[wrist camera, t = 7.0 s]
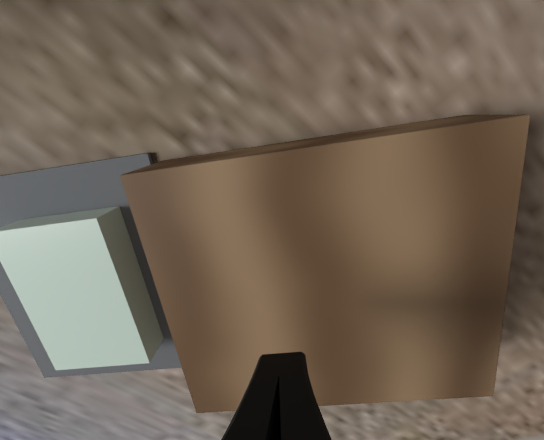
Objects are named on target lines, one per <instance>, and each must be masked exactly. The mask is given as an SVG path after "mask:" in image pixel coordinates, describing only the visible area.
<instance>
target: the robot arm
mask: <svg viewBox="0 0 544 440" xmlns="http://www.w3.org/2000/svg"><path fill="white" fill-rule="evenodd" d="M221 440H331V437H330V435H329V432H328V430H327V428H326V425H325V423H324V420H323V417H322V415H321V412H320V409H319V407H318V404H317V401H316V398H315V395H314V392H313V389H312V386H311V382H310V379H309V375H308V369H307V362H306V356H305V354H304V353H303V352H289V353H276V354H262V355H261V356H260V357H259V360H258V363H257V365H256V368H255V370H254V373H253V375H252V378H251V380H250V382H249V385H248V387H247V389H246V391H245V394H244V396H243V398H242V400H241V402H240V404H239V406H238V408H237V410H236V412H235V414H234V417H233V419H232V421H231V423H230V425H229V427H228V428H227V430H226V432H225V434H224V436H223V438H222V439H221Z"/></svg>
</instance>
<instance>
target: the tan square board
mask: <svg viewBox="0 0 544 440" xmlns="http://www.w3.org/2000/svg"><path fill="white" fill-rule="evenodd" d="M529 120H530V115H462V116H456V117H449V118H443V119H436V120H429V121H423V122H416V123H409V124H403V125H396V126H390V127H383V128H376V129H370V130H363V131H357V132H350V133H343V134H337V135H330V136H324V137H317V138H310V139H304V140H297V141H290V142H284V143H277V144H271V145H264V146H257V147H251V148H244V149H238V150H231V151H224V152H218V153H211V154H205V155H198V156H191V157H185V158H178V159H171V160H165V161H160V162H157V163H154V164H151V165H149V166H146V167H143V168H140V169H137V170H134V171H131V172H128V173H125V174H122V175H120V178H121V181H122V184H123V187H124V190H125V193H126V196H127V199H128V203H129V206H130V209H131V212H132V215H133V218H134V221H135V224H136V227H137V230H138V233H139V236H140V240H141V243H142V246H143V249H144V252H145V255H146V258H147V261H148V264H149V267H150V270H151V274H152V277H153V280H154V283H155V286H156V289H157V292H158V295H159V298H160V301H161V304H162V307H163V311H164V314H165V317H166V320H167V323H168V326H169V329H170V332H171V335H172V338H173V341H174V344H175V348H176V351H177V354H178V357H179V360H180V363H181V366H182V369H183V372H184V375H185V378H186V381H187V385H188V388H189V391H190V394H191V397H192V400H193V403H194V406H195V409H196V412H197V413H205V412H223V411H236V410H237V408H238V406H239V404H240V402H241V400H242V398H243V396H244V394H245V391H246V389H247V387H248V385H249V382H250V380H251V378H252V375H253V373H254V370H255V368H256V365H257V363H258V360H259V357H260V356H261V355H262V354H276V353H289V352H303V353H304V354H305V356H306V362H307V369H308V375H309V379H310V382H311V386H312V389H313V392H314V395H315V398H316V401H317V404H318V406H327V405H344V404H362V403H379V402H397V401H414V400H431V399H449V398H466V397H484V396H493V394H494V387H495V379H496V371H497V364H498V356H499V348H500V341H501V333H502V326H503V318H504V310H505V303H506V295H507V288H508V280H509V272H510V265H511V257H512V250H513V242H514V234H515V227H516V219H517V212H518V204H519V196H520V189H521V181H522V173H523V166H524V158H525V151H526V143H527V135H528V128H529Z"/></svg>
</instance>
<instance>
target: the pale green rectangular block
mask: <svg viewBox="0 0 544 440" xmlns="http://www.w3.org/2000/svg"><path fill="white" fill-rule="evenodd" d="M0 262H1V264H2V266H3V268H4V270H5V272H6V274H7V276H8V278H9V280H10V281H11V283H12V285H13V287H14V289H15V291H16V293H17V295H18V297H19V299H20V301H21V303H22V305H23V307H24V309H25V311H26V313H27V315H28V317H29V319H30V321H31V323H32V325H33V327H34V329H35V331H36V333H37V335H38V337H39V338H40V340H41V342H42V344H43V346H44V348H45V350H46V352H47V354H48V356H49V358H50V360H51V362H52V364H53V366H54V368H55V370H67V369H80V368H93V367H106V366H119V365H132V364H145V363H150V362H151V360H152V358H153V356H154V355H155V353H156V351H157V349H158V348H159V346H160V344H161V342H162V341H163V339H164V338H163V335H162V332H161V329H160V326H159V323H158V320H157V317H156V314H155V311H154V308H153V305H152V302H151V299H150V296H149V293H148V290H147V287H146V284H145V281H144V278H143V275H142V272H141V269H140V267H139V264H138V261H137V258H136V255H135V252H134V249H133V246H132V243H131V240H130V237H129V234H128V231H127V228H126V225H125V222H124V219H123V216H122V213H121V210H120V207H119V206H118V207H110V208H103V209H96V210H88V211H81V212H74V213H66V214H59V215H52V216H44V217H37V218H30V219H22V220H19V221H16V222H13V223H11V224H8V225H5V226H3V227H0Z"/></svg>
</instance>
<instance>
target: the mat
mask: <svg viewBox="0 0 544 440" xmlns="http://www.w3.org/2000/svg"><path fill="white" fill-rule="evenodd" d="M151 164H153V162H152V158H151V155H150V153H145V154H139V155H132V156H126V157H119V158H113V159H106V160H100V161H93V162H87V163H81V164H74V165H68V166H61V167H55V168H48V169H42V170H35V171H29V172H22V173H16V174H10V175H3V176H0V227H3V226H5V225H8V224H11V223H13V222H16V221H19V220H22V219H30V218H37V217H44V216H52V215H59V214H66V213H74V212H81V211H88V210H96V209H103V208H110V207H118V206H119V207H120V210H121V213H122V216H123V219H124V222H125V225H126V228H127V231H128V234H129V237H130V240H131V243H132V246H133V249H134V252H135V255H136V258H137V261H138V264H139V267H140V269H141V272H142V275H143V278H144V281H145V284H146V287H147V290H148V293H149V296H150V299H151V302H152V305H153V308H154V311H155V314H156V317H157V320H158V323H159V326H160V329H161V332H162V335H163V338H164V339H163V341H162V342H161V344H160V346H159V348H158V349H157V351H156V353H155V355H154V356H153V358H152V360H151V362H150V363H145V364H132V365H119V366H106V367H93V368H80V369H67V370H55V368H54V366H53V364H52V362H51V360H50V358H49V356H48V354H47V352H46V350H45V348H44V346H43V344H42V342H41V340H40V338H39V337H38V335H37V333H36V331H35V329H34V327H33V325H32V323H31V321H30V319H29V317H28V315H27V313H26V311H25V309H24V307H23V305H22V303H21V301H20V299H19V297H18V295H17V293H16V291H15V289H14V287H13V285H12V283H11V281H10V280H9V278H8V276H7V274H6V272H5V270H4V268H3V266H2V264H1V262H0V295H1V297H2V299H3V301H4V302H5V304H6V306H7V308H8V310H9V312H10V314H11V316H12V317H13V319H14V321H15V323H16V325H17V327H18V329H19V331H20V333H21V334H22V336H23V338H24V340H25V342H26V344H27V346H28V348H29V349H30V351H31V353H32V355H33V357H34V359H35V361H36V363H37V365H38V366H39V368H40V370H41V372H42V374H43V376H44V378H46V377H59V376H73V375H86V374H100V373H113V372H126V371H140V370H153V369H167V368H180V367H182V366H181V363H180V360H179V357H178V354H177V351H176V348H175V344H174V341H173V338H172V335H171V332H170V329H169V326H168V323H167V320H166V317H165V314H164V311H163V307H162V304H161V301H160V298H159V295H158V292H157V289H156V286H155V283H154V280H153V277H152V274H151V270H150V267H149V264H148V261H147V258H146V255H145V252H144V249H143V246H142V243H141V240H140V236H139V233H138V230H137V227H136V224H135V221H134V218H133V215H132V212H131V209H130V206H129V203H128V199H127V196H126V193H125V190H124V187H123V184H122V181H121V178H120V175H122V174H125V173H128V172H131V171H134V170H137V169H140V168H143V167H146V166H149V165H151Z"/></svg>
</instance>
